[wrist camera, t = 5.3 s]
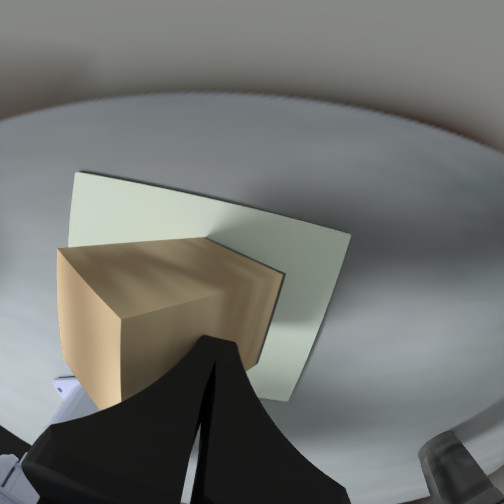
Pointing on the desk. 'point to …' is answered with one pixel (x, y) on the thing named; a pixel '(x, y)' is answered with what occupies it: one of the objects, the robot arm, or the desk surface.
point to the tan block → (157, 309)
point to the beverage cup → (455, 474)
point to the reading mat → (237, 238)
